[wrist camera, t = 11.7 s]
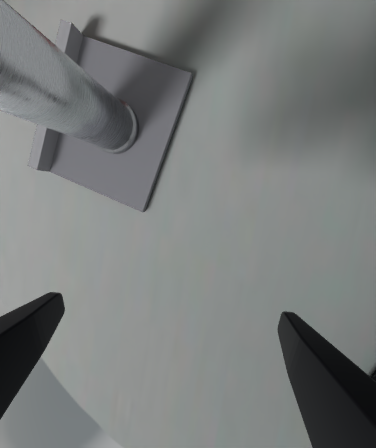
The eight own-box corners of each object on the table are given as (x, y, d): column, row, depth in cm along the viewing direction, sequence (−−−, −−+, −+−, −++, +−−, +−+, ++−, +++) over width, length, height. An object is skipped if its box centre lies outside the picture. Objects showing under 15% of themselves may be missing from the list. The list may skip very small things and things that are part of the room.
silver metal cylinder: (146, 110, 18) (-6, -45, 6) (129, 161, 19) (-31, 108, 7) (100, 93, 18) (-119, -80, 7) (86, 143, 19) (-130, 67, 8)
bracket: (192, 77, 17) (188, 62, 16) (144, 211, 20) (136, 213, 18) (78, 37, 19) (60, 19, 17) (45, 168, 21) (27, 166, 19)
